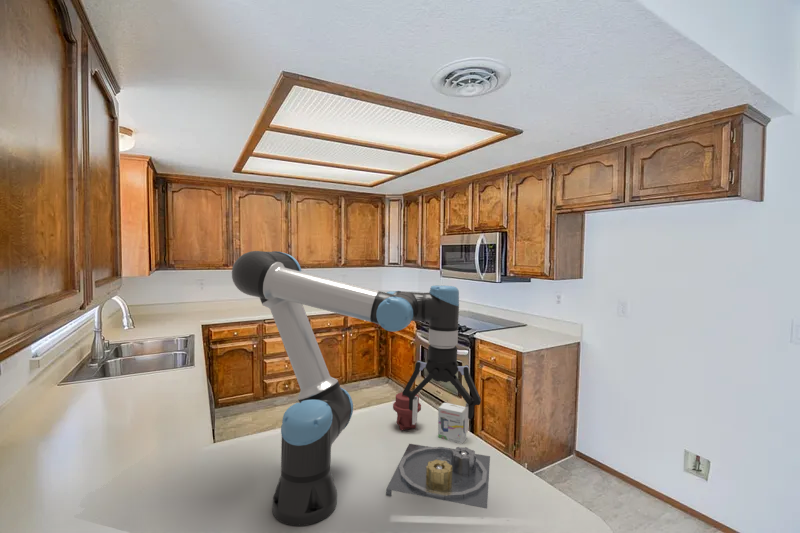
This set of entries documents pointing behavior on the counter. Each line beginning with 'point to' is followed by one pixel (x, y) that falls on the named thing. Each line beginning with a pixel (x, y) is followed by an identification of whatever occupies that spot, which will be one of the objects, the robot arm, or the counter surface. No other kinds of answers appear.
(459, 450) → the seated gear
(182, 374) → the counter surface
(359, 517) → the counter surface
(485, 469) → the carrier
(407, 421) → the mechanical component
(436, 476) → the planet gear
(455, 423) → the ink box
